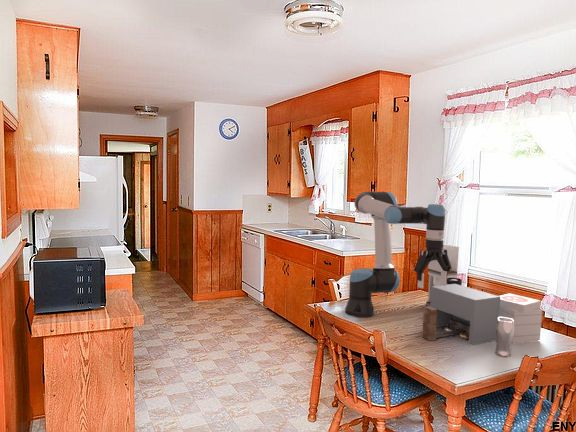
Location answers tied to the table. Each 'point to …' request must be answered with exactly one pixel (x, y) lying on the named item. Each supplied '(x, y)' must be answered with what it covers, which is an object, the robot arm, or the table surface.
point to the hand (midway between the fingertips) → (431, 286)
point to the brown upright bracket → (430, 325)
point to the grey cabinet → (467, 310)
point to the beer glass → (504, 336)
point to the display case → (435, 269)
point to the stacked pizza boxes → (522, 316)
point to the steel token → (449, 329)
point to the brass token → (464, 335)
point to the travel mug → (454, 281)
